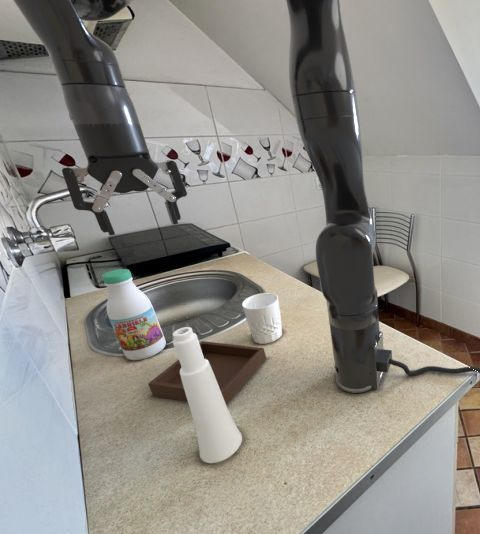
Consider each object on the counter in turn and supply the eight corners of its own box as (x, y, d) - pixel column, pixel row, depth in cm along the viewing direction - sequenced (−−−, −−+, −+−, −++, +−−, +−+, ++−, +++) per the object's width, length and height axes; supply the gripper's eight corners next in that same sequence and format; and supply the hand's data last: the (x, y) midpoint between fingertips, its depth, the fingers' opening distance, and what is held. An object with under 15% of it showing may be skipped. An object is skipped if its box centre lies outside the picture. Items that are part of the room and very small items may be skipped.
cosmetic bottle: (208, 433, 54) (167, 321, 45) (246, 427, 55) (214, 316, 46) (193, 467, 48) (145, 347, 40) (236, 459, 50) (198, 341, 41)
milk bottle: (123, 350, 75) (89, 272, 67) (163, 336, 80) (135, 262, 72) (128, 366, 70) (91, 283, 62) (170, 350, 75) (141, 272, 67)
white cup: (273, 347, 75) (265, 310, 71) (243, 343, 77) (234, 307, 73) (290, 328, 82) (284, 294, 79) (263, 325, 84) (255, 291, 80)
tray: (266, 359, 71) (263, 347, 70) (224, 407, 59) (220, 394, 58) (205, 352, 74) (202, 340, 73) (153, 396, 62) (147, 383, 61)
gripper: (36, 121, 40) (89, 243, 47) (170, 121, 49) (199, 223, 56) (39, 123, 45) (86, 234, 52) (160, 123, 54) (187, 217, 61)
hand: (145, 228), depth 54 cm, fingers open, 8 cm apart
